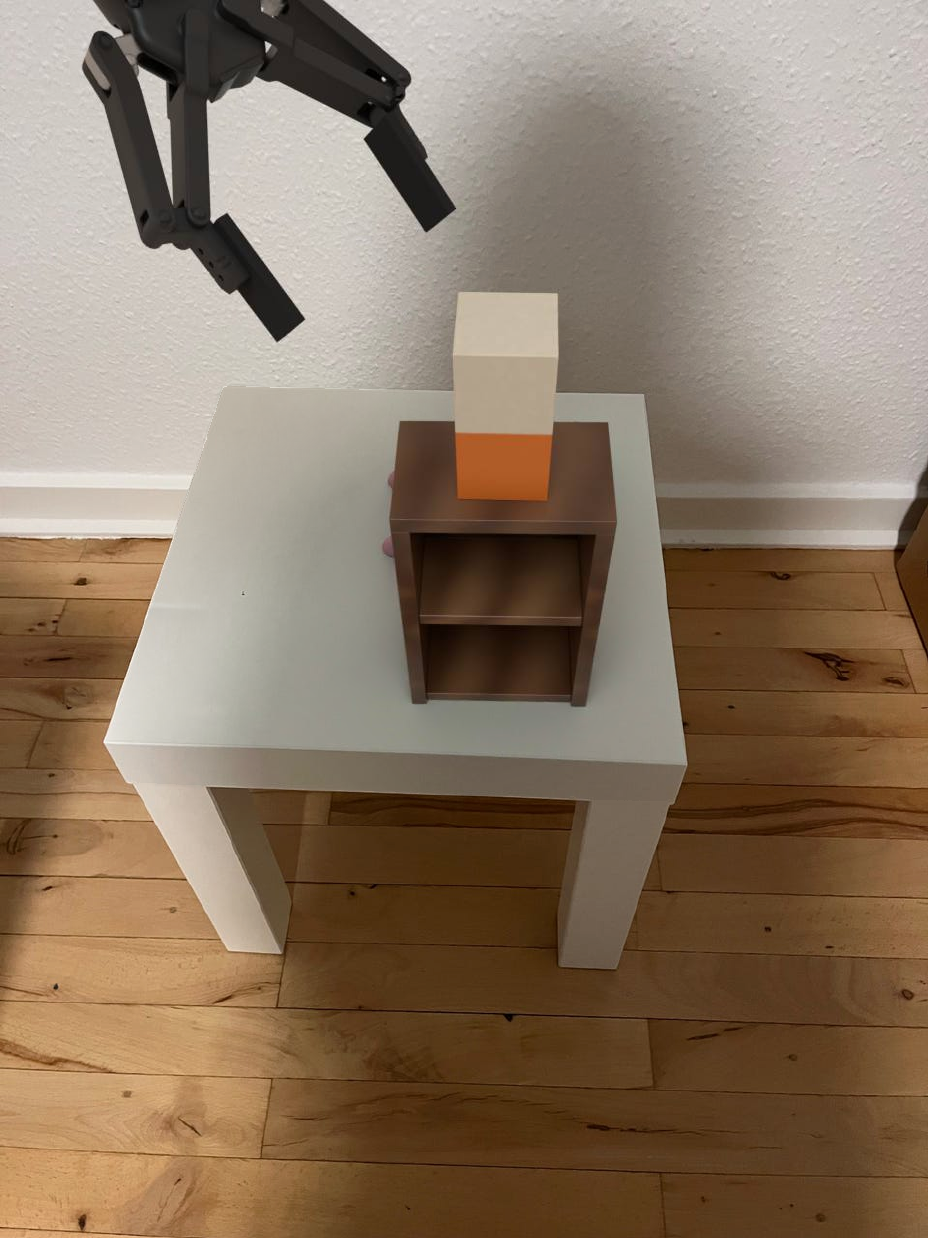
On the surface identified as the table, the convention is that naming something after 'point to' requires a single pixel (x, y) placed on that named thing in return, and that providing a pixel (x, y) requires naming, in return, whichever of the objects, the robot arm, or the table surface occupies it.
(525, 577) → the shelf
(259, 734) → the table surface
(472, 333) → the cream and orange block
